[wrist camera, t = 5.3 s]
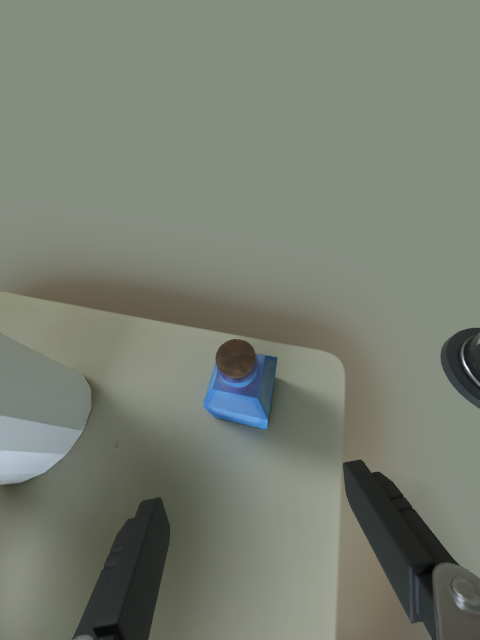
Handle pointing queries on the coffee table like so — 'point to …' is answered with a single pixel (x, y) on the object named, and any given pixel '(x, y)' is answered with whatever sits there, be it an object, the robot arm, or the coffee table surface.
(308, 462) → the coffee table surface
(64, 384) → the white dome-topped cylinder
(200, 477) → the coffee table surface
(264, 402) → the perfume bottle
